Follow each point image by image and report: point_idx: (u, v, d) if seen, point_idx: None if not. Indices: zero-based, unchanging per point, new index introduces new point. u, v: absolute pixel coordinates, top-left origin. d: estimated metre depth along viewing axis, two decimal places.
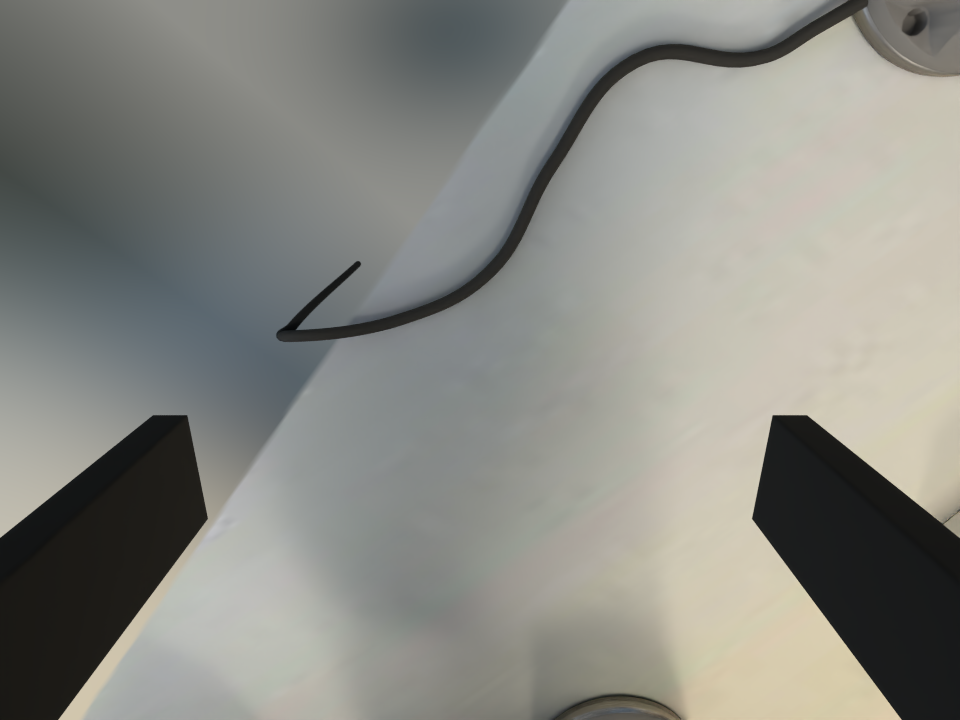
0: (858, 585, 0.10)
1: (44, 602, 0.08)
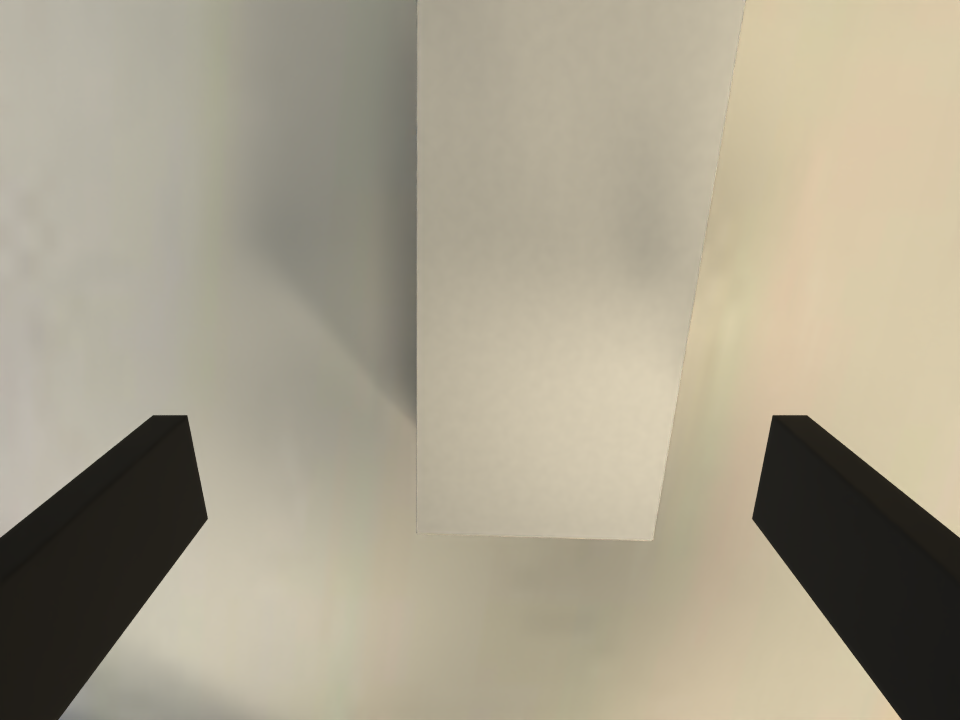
0: (858, 585, 0.10)
1: (43, 602, 0.08)
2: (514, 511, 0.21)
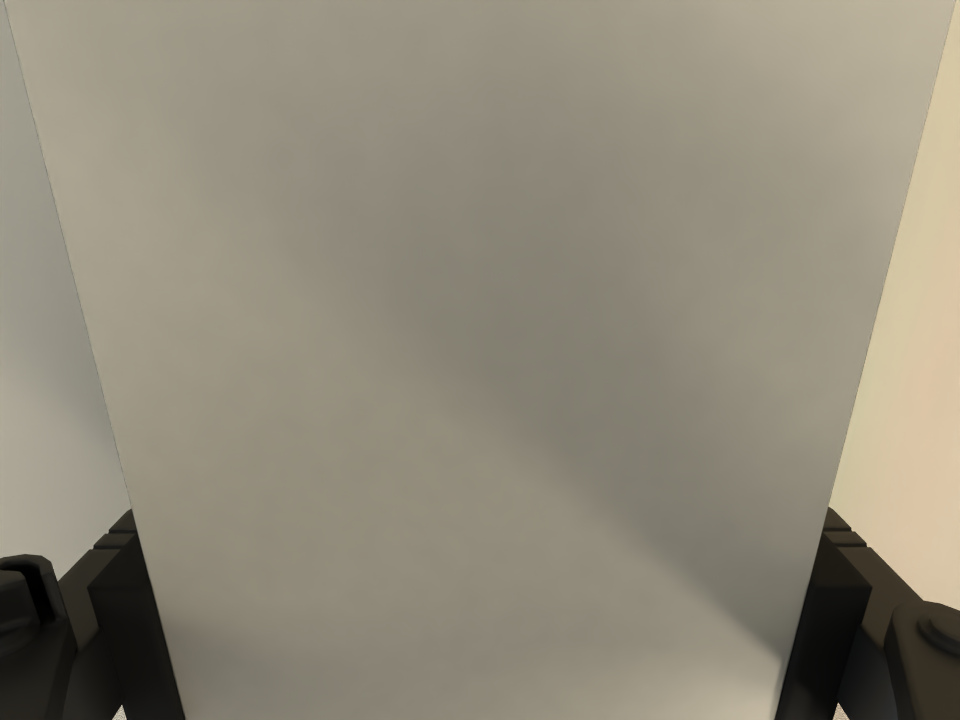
0: None
1: None
2: None
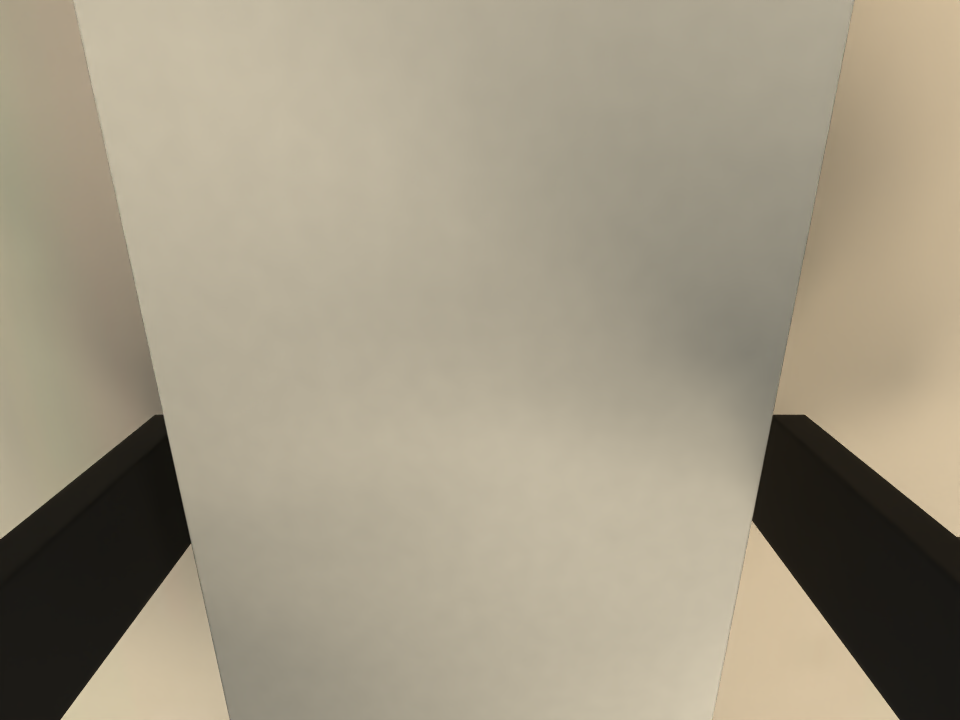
0: (855, 584, 0.10)
1: (47, 601, 0.08)
2: None
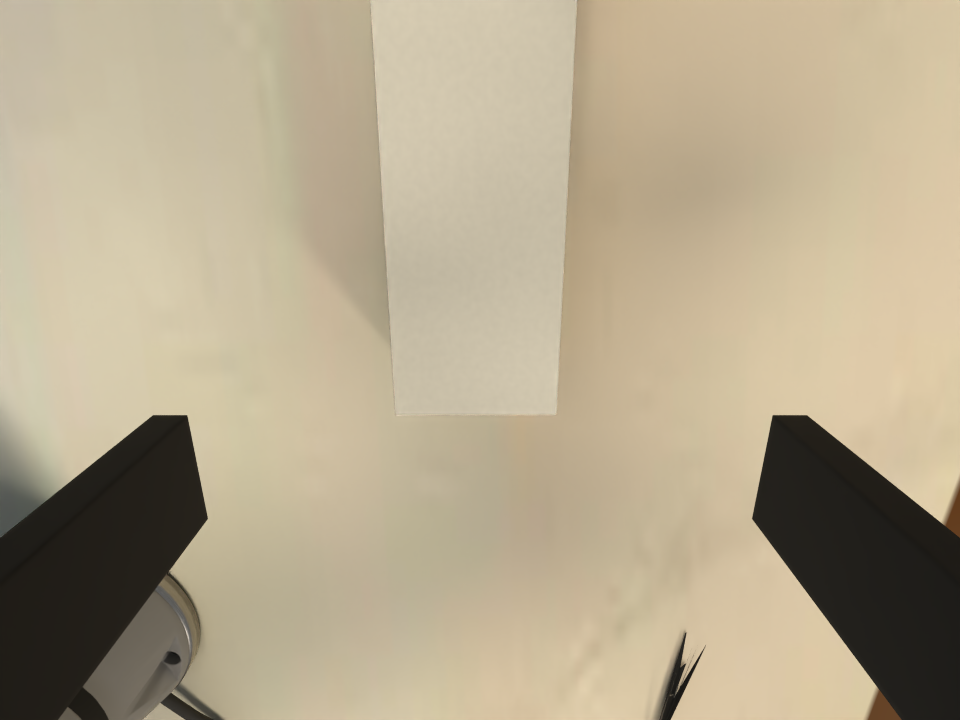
0: (858, 585, 0.10)
1: (43, 603, 0.08)
2: (459, 396, 0.31)
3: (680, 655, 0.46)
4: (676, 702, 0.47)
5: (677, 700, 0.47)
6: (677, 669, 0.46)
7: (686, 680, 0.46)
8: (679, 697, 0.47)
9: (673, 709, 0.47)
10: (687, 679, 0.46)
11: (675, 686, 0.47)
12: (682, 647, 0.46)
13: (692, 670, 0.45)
